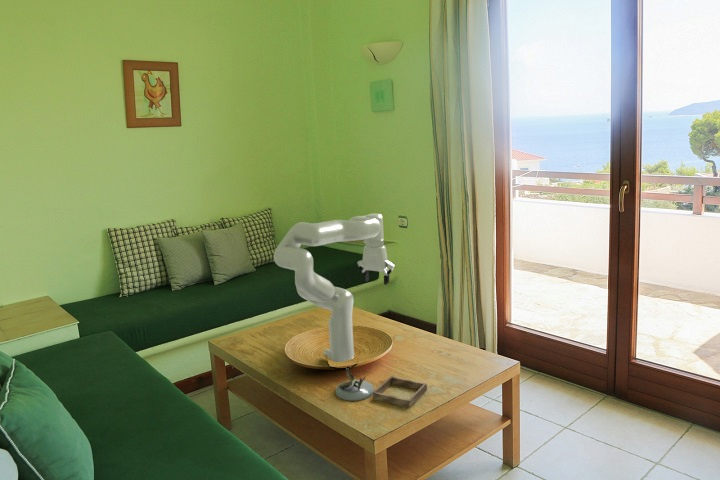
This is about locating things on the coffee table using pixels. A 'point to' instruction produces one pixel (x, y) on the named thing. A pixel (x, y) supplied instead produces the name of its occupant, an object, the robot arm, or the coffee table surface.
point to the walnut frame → (396, 400)
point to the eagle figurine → (352, 382)
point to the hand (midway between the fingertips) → (376, 282)
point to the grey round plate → (355, 391)
